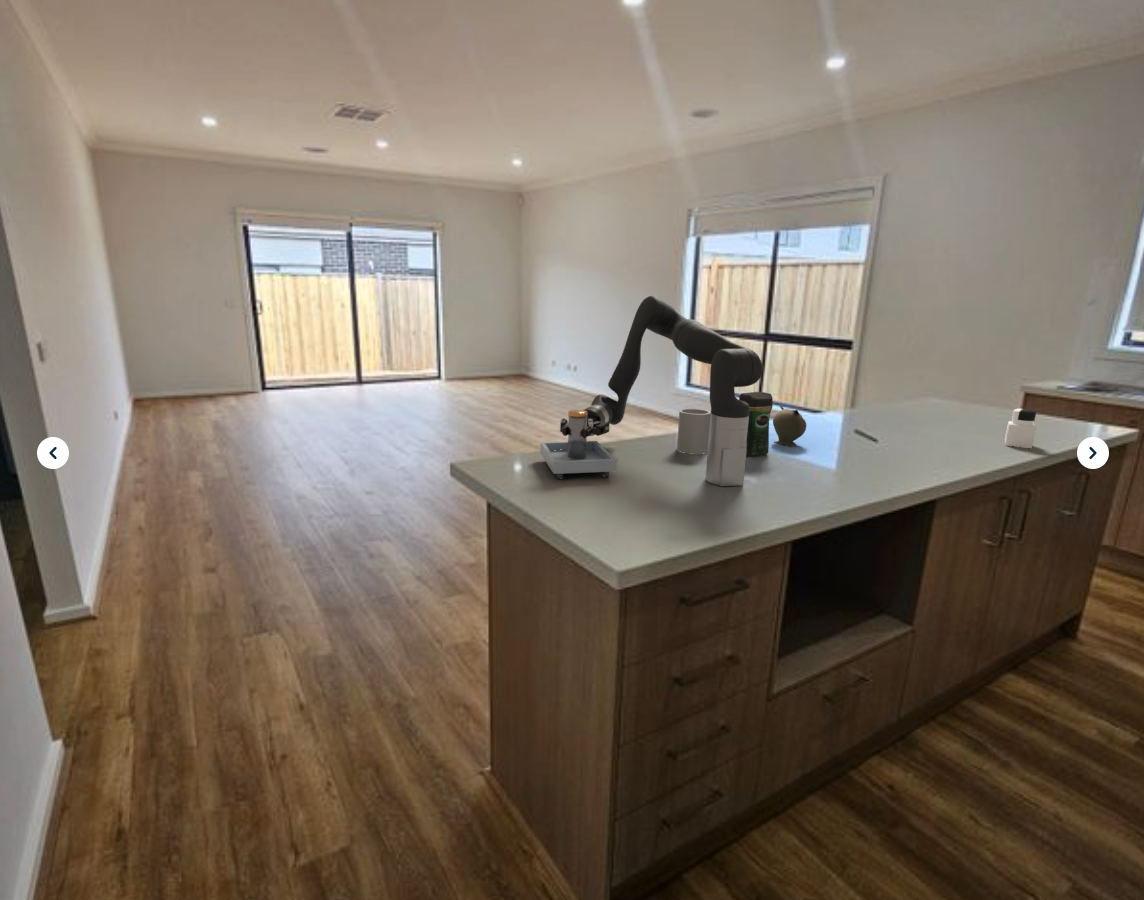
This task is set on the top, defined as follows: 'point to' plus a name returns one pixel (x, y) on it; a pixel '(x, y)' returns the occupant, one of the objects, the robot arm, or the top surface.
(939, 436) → the top surface
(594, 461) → the dolly
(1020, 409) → the medicine bottle
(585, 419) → the canister
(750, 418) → the coffee jar
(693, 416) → the cup
